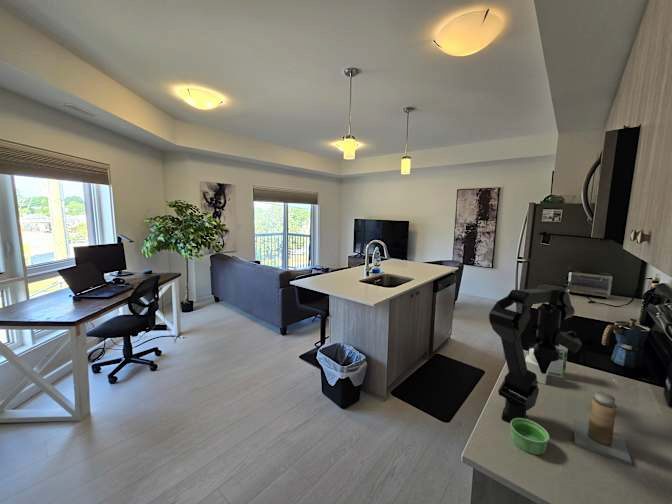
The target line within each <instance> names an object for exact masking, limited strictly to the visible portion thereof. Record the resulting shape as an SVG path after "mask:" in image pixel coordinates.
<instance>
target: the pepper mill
mask: <svg viewBox="0 0 672 504" xmlns="http://www.w3.org/2000/svg"><path fill="white" fill-rule="evenodd" d="M617 409H618V405H616V398H615V397H614V396H613V395H611V394H609V393H607V392H603V391H595V393H594V397H592V398H591V404H590V411H589V412H590V413H589V418H588V424H589V426H588V436H589V438H590V439H592V440H593V441H595V442H596V443H598V444H601V445H605V446H610V445H611V444H612V438H613V433H614V430H615V423H616V415H617V411H618V410H617Z"/></svg>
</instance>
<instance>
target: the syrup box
mask: <svg viewBox="0 0 672 504" xmlns="http://www.w3.org/2000/svg"><path fill="white" fill-rule="evenodd" d="M555 347H556V348H557V349H558V350H559V359H558V360H557V361H553V362H551V363H550V365H549V367H548V370H547V376H550V377H556V378H560V379H564V380H565V376H566V370H567V369H566V368H567V359H568V351H569V349H568V348H566V347H564V346H562V345H560V344H559V346H555Z"/></svg>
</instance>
